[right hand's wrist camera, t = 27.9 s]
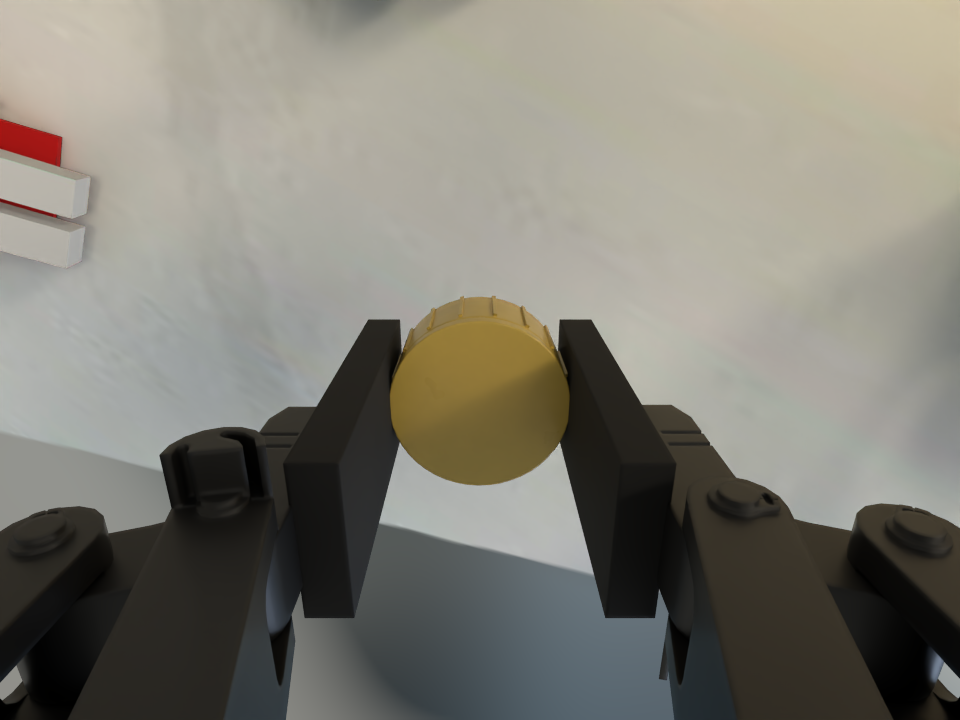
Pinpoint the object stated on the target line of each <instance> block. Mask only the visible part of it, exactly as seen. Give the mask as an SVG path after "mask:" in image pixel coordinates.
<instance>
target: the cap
mask: <svg viewBox="0 0 960 720" xmlns="http://www.w3.org/2000/svg"><path fill="white" fill-rule="evenodd" d="M566 377H568V373H567V370H566V367H565V365H564V362H563V359H562V356H561V354H560V351H557V350H556V347H555V345H554V342H553V340H552V338H551V336H550V333H549V330H548V327H547V326H546V325H545V326H543V325H542V324H541V323H540V322H539V321H538V320H537V319H536V318H535V317H534V316H533V315H532V314H530V313H529V312H527V311H526V309H525V307H524V306H522V307H519V306H517V305H515V304H513V303H510V302H507V301H504V300H500V299H496V296H492V298H488V297H470V298H464V296H462V297H460V299H459V300H456V301H453V302H449V303H447V304H445V305H443V306H441V307H439V308H437V309H435V308H433V309H431V313H430V314H428V315H427V316H426V317H425V318H423V319H422V320H421V321H420V323H419V324H418V325H417V326H416V327H415V328H414V329H413V328H411V330H410V332H409V335H408V337H407V340H406V343H405V346H404V349H403V352H402V355H401V354H400V356H399V359H398V362H397V365H396V367H395V370H394V373H393V376H392V383H391V388H390V407H391V421H392V426H393V429H394V431H395V433H396V436H397V438H398V439H399V441H400V443H401V445H402V446H403V447H404V449H405V450H406V451H407V453H408V454H409V455H410V456H411V457H412V458H413V459H414V460H415V461H416V462H417V463H418V464H420V465H421V466H422V467H424V468H425V469H426V470H428V471H430V472H431V473H433V474H435V475H437V476H439V477H441V478H444V479H446V480H450V481H453V482H456V483H461V484H467V485H492V484H499V483H503V482H507V481H511V480H513V479H516V478H518V477H521V476H523V475H525V474H526V473H528V472H530V471H532V470H533V469H535V468H536V467H537V466H539V465H540V464H541V463H542V462H544V461H545V460H546V459H547V458H548V457H549V456H550V454H551V453H552V452H553V451H554V450H555V448H556V447H557V445H558V444H559V442H560V441H561V439H562V437H563V435H564V433H565V430H566V427H567V424H568V416H569V400H570V390H569V385H568V382H567V378H566Z"/></svg>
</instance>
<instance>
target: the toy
mask: <svg viewBox="0 0 960 720" xmlns="http://www.w3.org/2000/svg"><path fill="white" fill-rule="evenodd" d="M61 144H62V137H60V136H57V135H53V134H50V133H46V132H43V131H40V130H36V129H33V128H29V127H26V126H23V125H19V124H16V123H12V122H9V121H6V120H2V119H0V251H2V252H6V253H10V254H14V255H17V256H21V257H25V258H28V259H32V260H36V261H40V262H43V263H47V264H51V265H54V266H58V267H62V268H66V269H67V268H69V267H71V266H73V265H75V264H77V263H79V262H81V260H82V251H83V242H84V233H85V226H82V225H78V224H75V223H72V222H68V221H65V220H61V219H58V218H57V215H60V216H63V217H67V218H70V219H73V218H76V217H78V216H81V215H84V214H87V207H88V198H89V189H90V180H91V176H87V175H84V174H81V173H78V172H74V171H71V170H68V169H64V168H61V167H60V159H61Z"/></svg>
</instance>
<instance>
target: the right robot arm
mask: <svg viewBox="0 0 960 720" xmlns="http://www.w3.org/2000/svg"><path fill="white" fill-rule="evenodd" d="M558 351H560V354H561V356H562V359H563V362H564V365H565V367H566V370H567V373H568V377H566V378H567V382H568V385H569V390H570V400H569V416H568V424H567V427H566V430H565V433H564V435H563V437H562V439H561V441H560V444H561V448H562V452H563V456H564V460H565V463H566V467H567V471H568V475H569V479H570V483H571V487H572V491H573V494H574V498H575V502H576V506H577V510H578V514H579V518H580V522H581V525H582V529H583V533H584V537H585V541H586V545H587V549H588V553H589V556H590V560H591V564H592V568H593V572H594V576H595V580H596V584H597V587H598V591H599V595H600V599H601V603H602V607H603V611H604V615H605V618H655V614H656V607H657V599H658V592H659V590H660V592H661V595H662V597H663V600H664V602H665V605H666V607H667V610H668V612H669V616H668V622H667V629H666V635H665V642H664V648H663V655H662V662H661V668H660V675H659V679H663V680H667V676H668V671H669V679H670V687H671V695H672V704H673V712H674V720H960V697H959V698H956V697H955V696H954V695H953V694H952V693H951V692H950V691H948V690H947V689H946V687H945V686H944V685H943V684H942V683H941V682H940V681H939V680H938V677H939V674H940V672H941V669H942V666H943V664H944V662H945V663H946V664H947V665H948V666H949V667H950V669H951V670H952V671H953V672H954V673H955V674H956V675H957V676H958V677H959V678H960V528H959V527H957V526H955V525H954V524H952V523H951V522H949V521H947V520H945V519H942V518H940V517H938V516H935V515H933V514H931V513H930V512H928V511H925V510H922V509H919V508H915V509H914V508H912V507H911V506H905V505H893V504H875V505H870V506H865V507H864V508H863V509H861V510H860V511H859V512H858V513H857V514H856V518H855V521H854V525H853V529H852V531H849V530H844V529H839V528H833V527H828V526H823V525H818V524H812V523H808V522H804V521H800V520H796V519H794V518H793V516H792V514H791V512H790V510H789V508H788V506H787V505H786V504H785V503H784V502H783V500H782V499H781V498H780V497H779V496H778V495H776V494H775V493H773V492H772V491H770V490H768V489H767V488H765V487H763V486H761V485H758V484H756V483H753V482H750V481H748V480H744V479H739V478H736V477H735V476H734V475H733V473H732V472H731V470H730V469H729V468H728V466H727V465H726V464H725V462H724V461H723V460H722V458H721V457H720V456H719V454H718V453H717V452H716V450H715V449H714V448H713V446H710V442H709V441H708V439H707V438H706V437H705V435H704V434H701V430H700V429H699V427H698V426H697V425H696V423H695V422H694V421H693V419H692V418H691V417H690V416H688V415H687V414H685V413H684V412H682V411H680V410H679V409H677V408H675V407H674V406H672V405H642V404H641V403H640V401H639V399H638V398H637V396H636V394H635V393H634V391H633V389H632V388H631V386H630V384H629V382H628V381H627V379H626V377H625V376H624V374H623V372H622V371H621V369H620V367H619V366H618V364H617V362H616V361H615V359H614V357H613V356H612V354H611V352H610V351H609V349H608V347H607V345H606V344H605V342H604V340H603V339H602V337H601V335H600V334H599V332H598V330H597V329H596V327H595V325H594V324H593V322H592V320H560V324H559V343H558ZM400 354H401V355H402V351H401V332H400V320H368V321H367V323H366V325H365V326H364V328H363V330H362V331H361V333H360V335H359V336H358V338H357V340H356V341H355V343H354V345H353V346H352V348H351V350H350V351H349V353H348V355H347V357H346V358H345V360H344V362H343V363H342V365H341V367H340V368H339V370H338V372H337V373H336V375H335V377H334V378H333V380H332V382H331V383H330V385H329V387H328V388H327V390H326V392H325V394H324V395H323V397H322V399H321V400H320V402H319V404H318V405H317V407H288V408H286V409H284V410H283V411H281V412H279V413H278V414H276V415H275V416H273V417H271V418H270V419H269V420H268V421H267V422H266V424H265V425H264V427H263V428H262V429H261V431H260V432H257V431H256V430H252V429H247V428H243V427H222V428H216V429H210V430H204V431H201V432H198V433H195V434H192V435H189V436H186V437H184V438H182V439H180V440H178V441H176V442H174V443H173V444H171V445H169V446H168V447H167V448H166V449H165V450H164V451H163V452H162V453H161V454H160V460H161V464H162V468H163V473H164V477H165V481H166V486H167V490H168V494H169V499H170V503H171V508H172V509H171V511H170V513H169V515H168V517H167V519H166V521H165V522H163V523H159V524H155V525H151V526H145V527H140V528H135V529H130V530H125V531H119V532H114V533H109V534H108V530H107V527H106V523H105V520H104V516H103V515H102V514H100V513H99V512H98V511H97V510H95V509H92V508H86V507H80V506H77V507H65V508H54V509H49V510H48V511H41V512H38V513H35V514H32V515H31V516H29V517H27V518H25V519H23V520H20V521H18V522H15V523H13V524H11V525H10V526H8V527H7V528H5V529H3V530H2V531H0V682H1V681H2V680H3V679H4V678H5V677H6V676H7V675H8V673H9V672H10V671H11V670H12V669H13V668H14V667H15V666H16V665H17V668H18V670H19V673H20V676H21V678H22V682H21V684H20V685H19V686H18V687H17V688H16V689H15V690H14V691H13V693H11V694H10V695H9V696H8V697H6V698H5V699H4V700H3V701H2V700H1V699H0V720H286V713H287V705H288V697H289V688H290V680H291V672H292V663H293V655H294V647H295V636H294V629H293V622H292V612H293V609H294V607H295V604H296V602H297V599H298V597H299V594H300V591H301V595H302V602H303V609H304V616H305V618H354V617H355V613H356V609H357V605H358V601H359V598H360V594H361V590H362V586H363V582H364V578H365V574H366V570H367V566H368V563H369V559H370V555H371V551H372V547H373V543H374V539H375V535H376V532H377V528H378V524H379V520H380V516H381V512H382V508H383V505H384V501H385V497H386V493H387V489H388V485H389V481H390V477H391V474H392V470H393V466H394V462H395V458H396V454H397V450H398V447H399V443H400V441H399V439H398V438H397V436H396V433H395V431H394V429H393V426H392V421H391V407H390V388H391V383H392V376H393V373H394V370H395V367H396V365H397V362H398V359H399V356H400Z"/></svg>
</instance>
